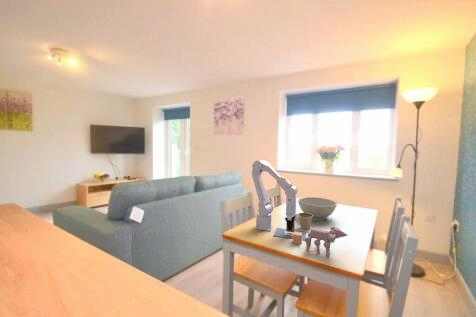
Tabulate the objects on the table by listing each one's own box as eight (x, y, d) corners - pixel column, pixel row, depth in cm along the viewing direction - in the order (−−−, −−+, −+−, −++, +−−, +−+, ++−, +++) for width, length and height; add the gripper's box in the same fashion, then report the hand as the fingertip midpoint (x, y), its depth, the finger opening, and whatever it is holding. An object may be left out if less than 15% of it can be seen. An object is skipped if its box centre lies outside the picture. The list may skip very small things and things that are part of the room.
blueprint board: (273, 236, 138) (273, 235, 138) (277, 228, 150) (277, 227, 150) (305, 240, 132) (305, 239, 132) (306, 232, 144) (306, 231, 144)
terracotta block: (292, 243, 128) (293, 234, 128) (293, 240, 133) (293, 231, 132) (301, 244, 127) (301, 235, 127) (301, 241, 131) (302, 232, 131)
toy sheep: (348, 252, 118) (349, 227, 116) (345, 263, 109) (346, 235, 107) (308, 243, 128) (309, 219, 127) (303, 252, 119) (303, 226, 118)
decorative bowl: (329, 212, 184) (330, 197, 183) (341, 224, 157) (342, 207, 156) (295, 211, 187) (295, 196, 186) (300, 223, 160) (301, 205, 159)
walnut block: (286, 231, 139) (286, 223, 139) (287, 228, 143) (287, 220, 143) (293, 232, 138) (294, 224, 137) (294, 229, 142) (294, 221, 142)
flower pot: (294, 226, 154) (295, 213, 154) (306, 224, 158) (306, 211, 157) (303, 231, 146) (303, 217, 145) (315, 229, 149) (316, 216, 148)
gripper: (296, 210, 131) (296, 233, 132) (298, 203, 145) (298, 224, 146) (284, 208, 134) (283, 231, 135) (287, 202, 147) (286, 223, 148)
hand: (290, 228), depth 141 cm, fingers closed on walnut block, 4 cm apart
